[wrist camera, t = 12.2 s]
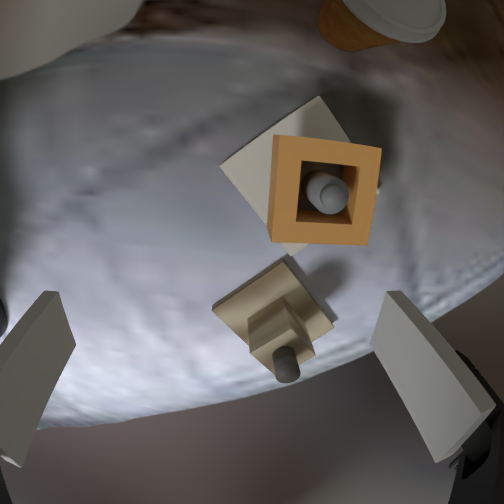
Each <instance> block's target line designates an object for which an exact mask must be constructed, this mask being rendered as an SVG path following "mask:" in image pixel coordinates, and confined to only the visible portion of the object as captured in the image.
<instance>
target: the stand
mask: <svg viewBox="0 0 504 504" xmlns="http://www.w3.org/2000/svg"><path fill="white" fill-rule="evenodd" d="M212 311H213V312H214V313H215V314H216V315H217V316H218V317H219V318H220V319H221V320H222V321H223V322H224V323H225V324H226V325H227V326H228V327H229V328H230V329H231V330H232V331H234V332H235V333H236V334H237V335H238V336H239V337H240V338H241V339H242V340H243V341H244V342H245V343H246V344H247V345H249V348H250V354H252V355H253V356H254V357H255V358H256V359H257V360H258V361H259V362H261V363H262V364H263V365H264V366H265V367H266V368H267V369H269V370H270V371H271V372H272V373H273V374H274V375H275V376H276V379H277V381H279V382H281V383H291V382H293V381H295V380H297V379H298V378H299V377H300V369H299V365H300V364H302V363H303V362H305V361H307V360H309V359H310V358H312V357H314V356H315V355H316V354H315V351H314V348H313V345H312V342H313V341H314V340H316V339H318V338H319V337H321V336H322V335H324V334H326V333H327V332H329V331H330V330H332V329H333V328H334V326H333V324H332V322H331V321H330V319H329V318H328V317H327V316H326V314H325V313H324V312H323V310H322V309H321V308H320V306H319V305H318V304H317V303H316V301H315V300H314V299H313V297H312V296H311V295H310V294H309V292H308V291H307V290H306V288H305V287H304V286H303V285H302V283H301V282H300V281H299V279H298V278H297V277H296V276H295V274H294V273H293V272H292V271H291V269H290V268H289V267H288V265H287V264H286V263H285V262H284V260H283V259H282V258H281V259H280V260H278V261H277V262H275V263H274V264H272V265H271V266H270V267H268V268H267V269H265V270H264V271H262V272H261V273H259V274H258V275H257V276H255V277H254V278H252V279H251V280H249V281H248V282H246V283H245V284H243V285H242V286H241V287H239V288H238V289H236V290H235V291H233V292H232V293H230V294H229V295H227V296H226V297H224V298H223V299H222V300H220V301H219V302H217V303H216V304H214V305H213V306H212Z"/></svg>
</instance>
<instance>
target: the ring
mask: <svg viewBox="0 0 504 504" xmlns="http://www.w3.org/2000/svg"><path fill="white" fill-rule="evenodd" d="M381 152H382V148H377V147H372V146H366V145H360V144H354V143H347V142H340V141H333V140H325V139H317V138H307V137H298V136H286V135H273V141H272V157H271V172H270V187H269V202H268V216H267V230H268V233H269V236H270V239H271V242H278V243H310V244H340V245H367V243H368V238H369V233H370V228H371V222H372V216H373V211H374V204H375V198H376V191H377V184H378V177H379V169H380V161H381ZM301 160H303V161H314V162H324V163H333V164H342V165H344V166H343V175H342V181H343V182H344V183H345V184H346V186H347V188H348V191H349V199H348V202H347V204H346V206H345V207H344V208H343V209H342V210H341V211H340V212H338V213H335V214H325V213H322V212H321V211H308V210H297V205H298V194H299V184H300V172H301Z"/></svg>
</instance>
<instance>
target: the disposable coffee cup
mask: <svg viewBox="0 0 504 504" xmlns="http://www.w3.org/2000/svg"><path fill="white" fill-rule="evenodd" d="M445 18H446V4H445V1H444V0H324V2H323V5H322V7H321V10H320V12H319V14H318V18H317V23H318V27H319V30H320V32H321V34H322V35H323V36H324V38H325V39H326V40H327V41H328V42H329V43H331V44H332V45H333V46H335V47H337V48H339V49H342V50H345V51H360V50H364V49H368V48H372V47H376V46H381V45H386V44H391V43H396V42H401V41H402V42H409V43H421V42H425V41H428V40H430V39H432V38H433V37H434V36H436V34H437V33H438V32H439V30H440V28H441V26H442V25H443V24H444V22H445Z"/></svg>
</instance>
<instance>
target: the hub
mask: <svg viewBox="0 0 504 504" xmlns="http://www.w3.org/2000/svg"><path fill="white" fill-rule="evenodd" d="M273 135H286V136H298V137H307V138H317V139H325V140H333V141H340V142H347V143H351V142H350V140H349V139H348V137H347V135H346V134H345V132H344V131H343V129H342V128H341V126H340V125H339V123H338V122H337V120H336V119H335V117H334V116H333V114H332V113H331V111H330V110H329V108H328V107H327V106H326V104H325V103H324V101H323V100H322V98H321V97H320V96H317V97H315V98H314V99H312V100H311V101H309V102H308V103H306V104H304V105H303V106H301V107H300V108H298V109H297V110H295V111H294V112H292V113H291V114H289V115H288V116H286V117H285V118H284V119H282V120H281V121H279V122H278V123H276V124H275V125H273V126H272V127H271V128H269V129H268V130H266V131H265V132H263V133H262V134H261V135H259V136H258V137H257V138H255V139H254V140H252V141H251V142H250V143H248V144H247V145H246V146H244V147H243V148H242V149H240V150H239V151H238V152H236V153H235V154H234V155H232V156H231V157H230V158H228V159H227V160H226V161H224V162H223V163H222V164H221V165H220V166H219V167H220V168H221V169H222V170H223V172H224V173H225V174H226V175H227V176H228V178H229V179H230V180H231V181H232V183H233V184H234V185H235V186H236V188H237V189H238V190H239V191H240V193H241V194H242V195H243V196H244V198H245V199H246V200H247V201H248V203H249V204H250V205H251V206H252V208H253V209H254V210H255V211H256V213H257V214H258V215H259V217H260V218H261V219H262V220H263V222H264V223H265V224H266V225H267V216H268V202H269V187H270V172H271V157H272V141H273ZM343 166H344V165H342V164H333V163H324V162H314V161H303V160H301V172H300V184H299V194H298V205H297V210H308V211H321V212H322V213H325V214H335V213H338V212H340V211H341V210H342V209H343V208H344V207H345V206H346V204H347V202H348V199H349V191H348V188H347V186H346V184H345V183H344V182H343V181H342V175H343ZM379 193H380V192H379V190H378V188H377V191H376V195H377V194H379ZM308 244H309V243H281V245H282V246H283V247H284V249H285V250H286V251H287V252H288V254H289V255H290V256H292V255H294V254H295V253H297V252H298V251H299V250H301V249H302V248H304V247H305V246H307V245H308Z"/></svg>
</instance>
